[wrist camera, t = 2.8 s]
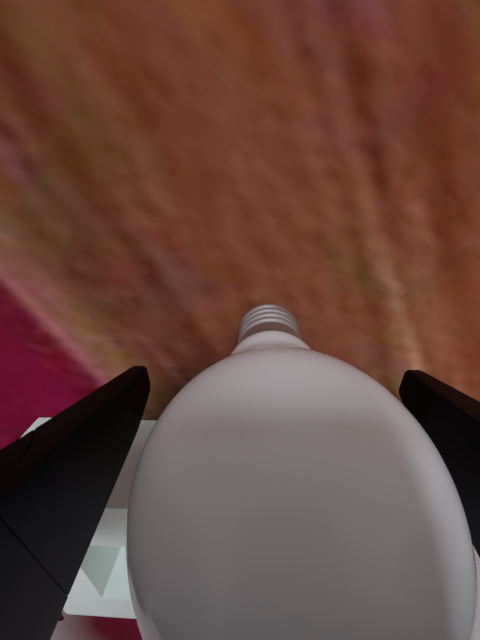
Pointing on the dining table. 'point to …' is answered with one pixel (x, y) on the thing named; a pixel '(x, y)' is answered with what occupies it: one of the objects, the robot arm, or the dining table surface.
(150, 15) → the dining table surface
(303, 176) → the dining table surface
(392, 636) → the lightbulb
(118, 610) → the socket block
